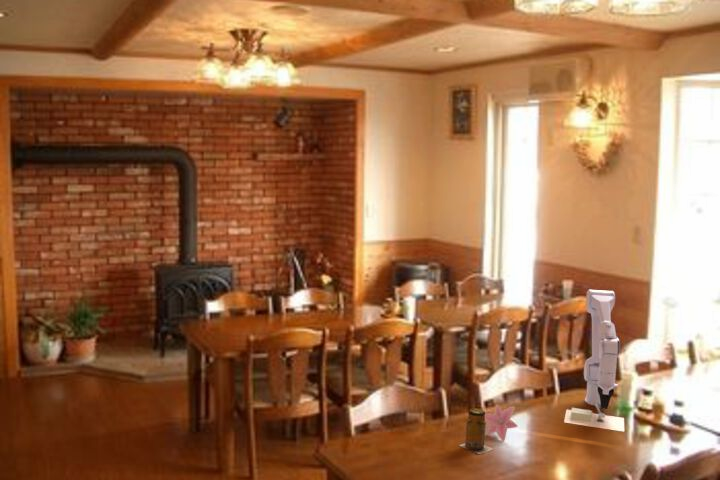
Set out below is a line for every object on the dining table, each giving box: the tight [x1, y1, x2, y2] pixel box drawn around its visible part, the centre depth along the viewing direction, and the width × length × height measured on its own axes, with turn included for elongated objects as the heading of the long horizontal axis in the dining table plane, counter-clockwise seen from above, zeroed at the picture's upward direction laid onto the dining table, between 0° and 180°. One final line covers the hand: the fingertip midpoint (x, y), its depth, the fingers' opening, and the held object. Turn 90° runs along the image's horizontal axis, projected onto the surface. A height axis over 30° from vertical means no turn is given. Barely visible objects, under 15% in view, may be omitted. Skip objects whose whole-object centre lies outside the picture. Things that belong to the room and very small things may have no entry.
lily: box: [485, 404, 518, 442], centre depth 246 cm, size 12×12×10 cm
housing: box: [563, 409, 625, 433], centre depth 260 cm, size 14×20×1 cm
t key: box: [595, 402, 606, 421], centre depth 261 cm, size 2×12×4 cm, turn 172°
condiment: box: [458, 408, 494, 455], centre depth 233 cm, size 7×8×12 cm
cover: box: [570, 407, 593, 422], centre depth 262 cm, size 5×7×2 cm
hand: (604, 408), depth 265 cm, fingers closed
